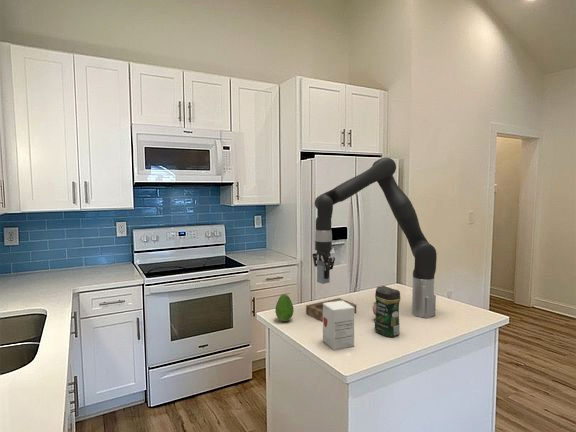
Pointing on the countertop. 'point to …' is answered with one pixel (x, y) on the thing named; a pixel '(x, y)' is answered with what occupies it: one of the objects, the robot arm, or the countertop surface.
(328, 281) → the plug
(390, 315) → the coffee jar
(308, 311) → the socket block
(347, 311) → the supplement box
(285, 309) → the avocado
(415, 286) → the robot arm
